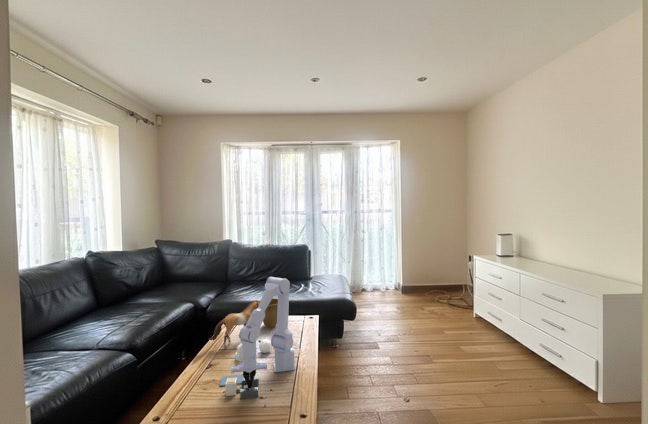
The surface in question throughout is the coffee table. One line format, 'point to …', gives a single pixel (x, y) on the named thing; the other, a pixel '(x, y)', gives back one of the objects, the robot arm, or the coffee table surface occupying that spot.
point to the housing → (249, 389)
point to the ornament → (265, 346)
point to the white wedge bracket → (239, 353)
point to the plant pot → (271, 314)
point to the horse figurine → (234, 321)
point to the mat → (224, 378)
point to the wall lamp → (232, 386)
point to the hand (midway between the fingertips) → (249, 387)
